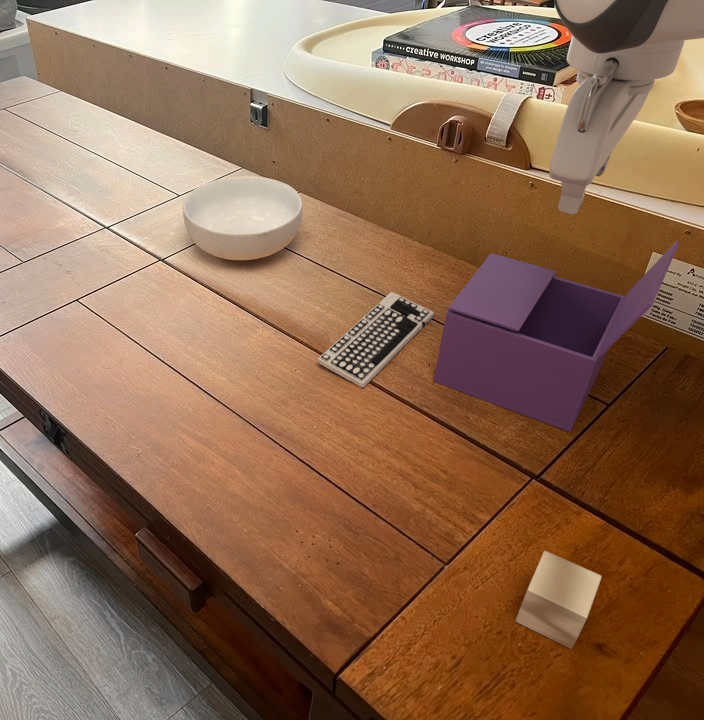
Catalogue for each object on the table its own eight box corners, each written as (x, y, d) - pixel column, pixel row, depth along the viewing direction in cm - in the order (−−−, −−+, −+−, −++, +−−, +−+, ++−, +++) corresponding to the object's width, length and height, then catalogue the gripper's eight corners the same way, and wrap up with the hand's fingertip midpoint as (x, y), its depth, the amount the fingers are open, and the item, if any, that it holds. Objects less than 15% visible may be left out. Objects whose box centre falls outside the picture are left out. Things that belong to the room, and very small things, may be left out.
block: (586, 608, 63) (602, 575, 60) (571, 650, 60) (587, 618, 57) (531, 582, 65) (544, 549, 62) (514, 621, 62) (527, 589, 59)
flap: (628, 291, 81) (630, 292, 80) (597, 355, 72) (600, 357, 72) (676, 240, 75) (679, 242, 75) (649, 303, 67) (652, 305, 67)
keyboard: (363, 388, 85) (364, 377, 84) (316, 367, 88) (317, 356, 87) (434, 316, 95) (436, 306, 94) (389, 299, 98) (391, 289, 97)
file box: (602, 365, 87) (629, 291, 80) (570, 432, 79) (598, 355, 72) (474, 324, 94) (490, 252, 87) (433, 381, 85) (447, 307, 79)
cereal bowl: (187, 219, 116) (185, 176, 112) (296, 216, 116) (298, 173, 112) (182, 279, 103) (179, 233, 99) (305, 277, 103) (307, 231, 98)
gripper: (637, 87, 58) (587, 245, 67) (685, 21, 71) (638, 160, 80) (553, 73, 61) (516, 226, 70) (614, 12, 74) (576, 147, 83)
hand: (582, 190), depth 75 cm, fingers open, 8 cm apart
